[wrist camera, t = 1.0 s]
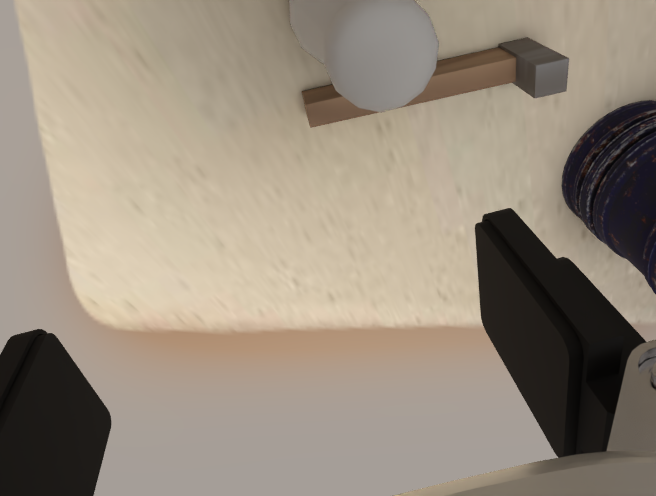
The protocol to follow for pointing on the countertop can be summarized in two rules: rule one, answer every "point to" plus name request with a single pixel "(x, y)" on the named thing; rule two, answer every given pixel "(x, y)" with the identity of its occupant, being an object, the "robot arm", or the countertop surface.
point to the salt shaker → (369, 47)
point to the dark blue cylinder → (618, 183)
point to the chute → (462, 79)
